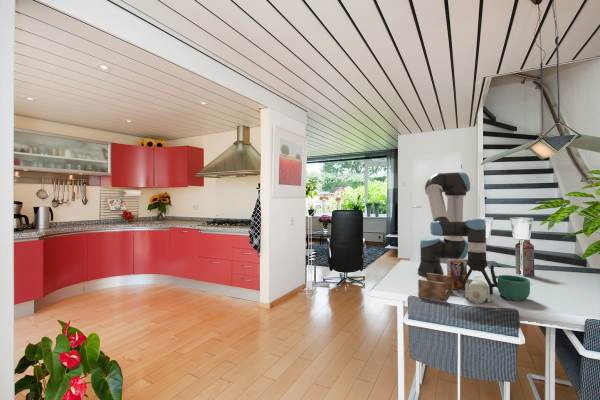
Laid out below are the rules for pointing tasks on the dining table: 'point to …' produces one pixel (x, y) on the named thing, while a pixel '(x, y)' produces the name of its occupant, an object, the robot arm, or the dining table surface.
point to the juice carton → (525, 258)
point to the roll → (477, 291)
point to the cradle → (435, 286)
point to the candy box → (456, 272)
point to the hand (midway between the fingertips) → (477, 299)
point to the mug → (513, 287)
